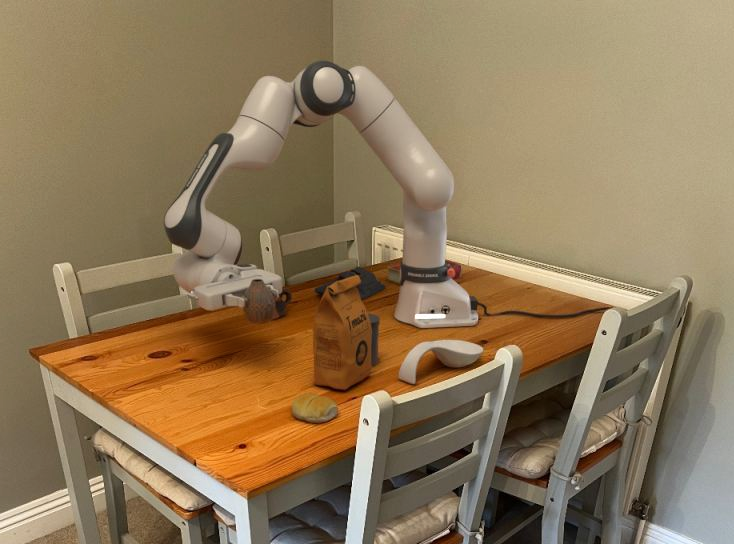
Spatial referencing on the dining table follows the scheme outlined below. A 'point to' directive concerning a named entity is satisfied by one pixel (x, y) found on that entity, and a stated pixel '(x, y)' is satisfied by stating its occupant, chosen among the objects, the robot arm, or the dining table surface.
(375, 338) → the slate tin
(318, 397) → the bread roll
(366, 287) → the folded navy cloth
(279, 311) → the brown grey irregular piece
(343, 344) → the coffee package
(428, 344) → the spoon rest
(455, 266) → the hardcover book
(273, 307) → the vase
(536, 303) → the dining table surface
